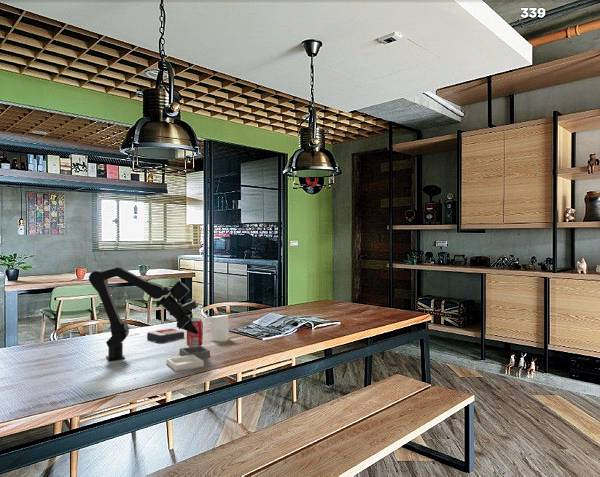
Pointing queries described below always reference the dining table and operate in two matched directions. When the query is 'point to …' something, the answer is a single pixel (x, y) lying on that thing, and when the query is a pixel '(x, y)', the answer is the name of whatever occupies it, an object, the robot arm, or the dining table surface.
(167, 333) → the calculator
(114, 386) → the dining table surface
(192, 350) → the dark gray square tray
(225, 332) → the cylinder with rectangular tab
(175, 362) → the tray
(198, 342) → the soda can
